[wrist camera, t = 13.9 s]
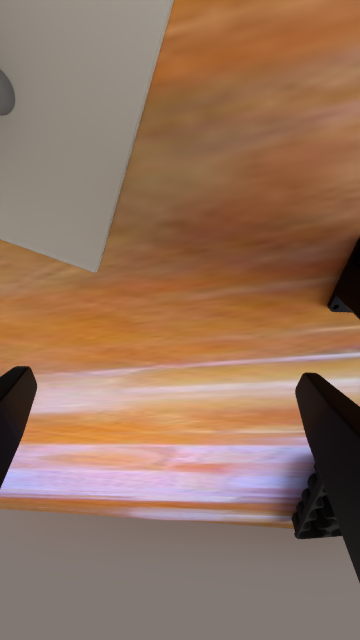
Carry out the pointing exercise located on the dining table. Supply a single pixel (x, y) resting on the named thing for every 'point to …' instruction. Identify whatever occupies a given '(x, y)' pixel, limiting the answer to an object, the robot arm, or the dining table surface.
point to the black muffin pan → (315, 512)
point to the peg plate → (71, 117)
